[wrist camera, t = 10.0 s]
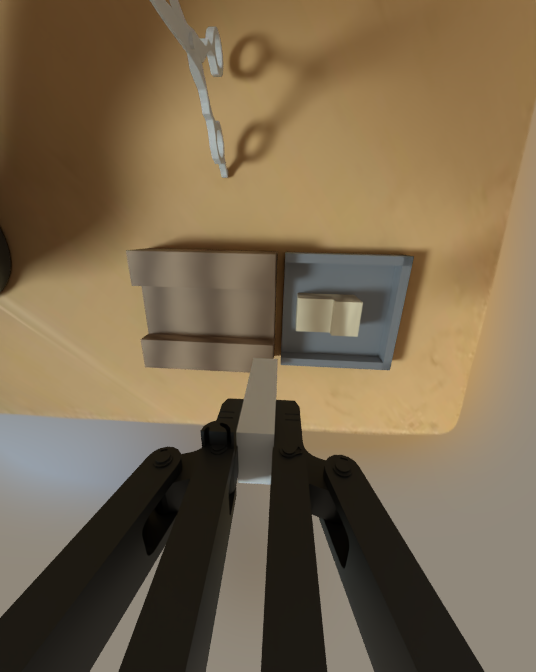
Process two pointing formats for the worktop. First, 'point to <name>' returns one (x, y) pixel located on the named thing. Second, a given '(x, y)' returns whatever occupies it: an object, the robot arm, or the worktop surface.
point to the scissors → (198, 67)
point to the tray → (349, 279)
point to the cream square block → (314, 312)
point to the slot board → (206, 307)
